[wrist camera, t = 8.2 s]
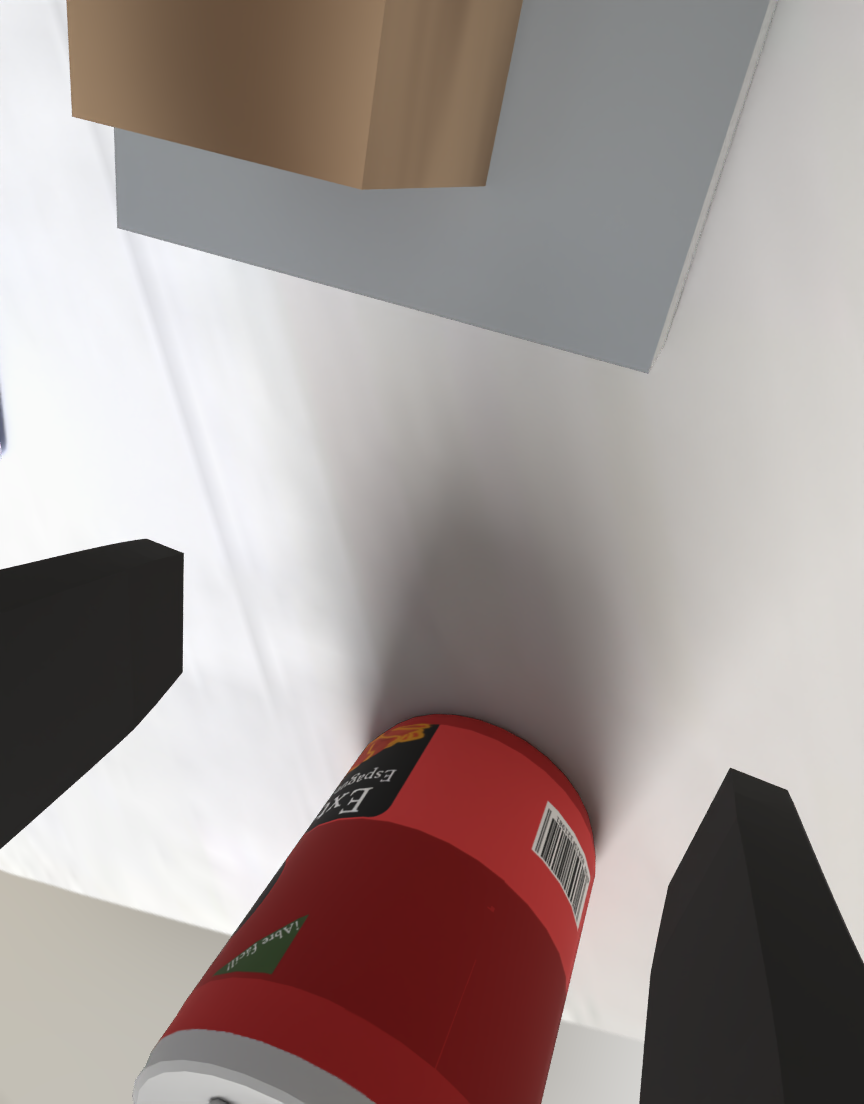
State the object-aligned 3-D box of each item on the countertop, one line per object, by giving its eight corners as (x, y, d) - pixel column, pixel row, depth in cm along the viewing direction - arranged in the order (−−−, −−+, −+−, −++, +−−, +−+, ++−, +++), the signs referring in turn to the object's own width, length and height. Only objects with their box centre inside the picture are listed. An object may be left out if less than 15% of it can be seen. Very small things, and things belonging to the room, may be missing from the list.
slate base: (189, 222, 19) (117, 228, 17) (195, -359, 14) (94, -455, 12) (663, 348, 16) (648, 373, 14) (887, -331, 11) (916, -450, 9)
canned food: (402, 661, 22) (150, 999, 13) (651, 800, 21) (564, 1280, 12) (337, 816, 26) (109, 1157, 17) (541, 940, 25) (413, 1379, 16)
